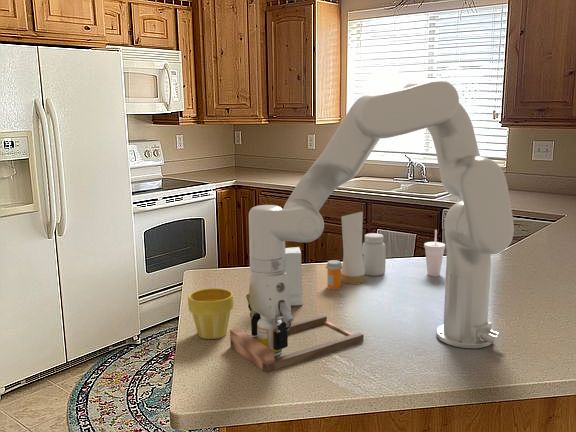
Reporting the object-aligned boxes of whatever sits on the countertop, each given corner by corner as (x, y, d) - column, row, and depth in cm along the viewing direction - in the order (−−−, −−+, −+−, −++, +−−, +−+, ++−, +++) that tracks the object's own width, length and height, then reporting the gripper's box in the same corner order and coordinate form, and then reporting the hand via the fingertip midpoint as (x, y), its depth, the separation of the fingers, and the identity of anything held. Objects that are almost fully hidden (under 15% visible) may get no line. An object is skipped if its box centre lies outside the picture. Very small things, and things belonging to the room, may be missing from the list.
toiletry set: (370, 268, 186) (371, 205, 182) (390, 273, 181) (391, 208, 177) (319, 286, 169) (319, 218, 165) (338, 292, 164) (339, 221, 160)
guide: (363, 341, 131) (363, 324, 130) (266, 372, 116) (265, 353, 115) (323, 320, 143) (323, 305, 142) (230, 346, 128) (230, 330, 128)
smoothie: (446, 273, 180) (448, 229, 177) (440, 278, 174) (442, 233, 172) (427, 270, 183) (428, 227, 180) (420, 275, 178) (421, 231, 175)
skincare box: (301, 298, 159) (301, 246, 156) (303, 306, 153) (302, 252, 150) (271, 299, 158) (270, 247, 156) (271, 307, 153) (270, 253, 150)
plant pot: (204, 322, 142) (202, 285, 140) (241, 328, 138) (240, 290, 136) (181, 339, 133) (179, 298, 131) (220, 345, 129) (219, 304, 127)
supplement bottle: (258, 358, 123) (257, 316, 121) (257, 347, 128) (256, 307, 126) (283, 357, 123) (282, 314, 121) (281, 346, 128) (280, 305, 126)
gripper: (306, 270, 116) (306, 350, 120) (261, 252, 130) (262, 324, 134) (275, 277, 112) (276, 360, 116) (232, 257, 126) (234, 332, 130)
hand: (269, 340), depth 125 cm, fingers open, 8 cm apart
